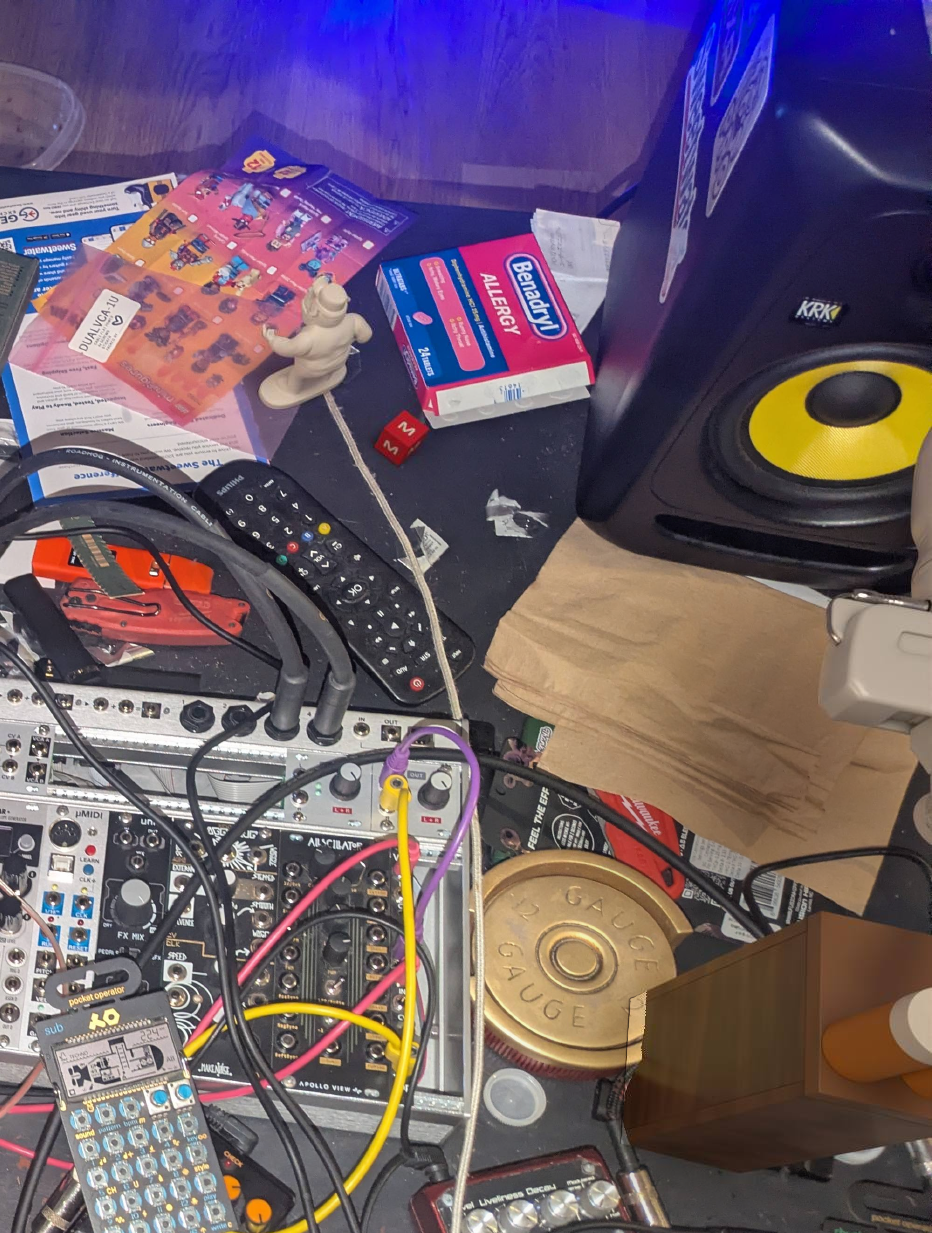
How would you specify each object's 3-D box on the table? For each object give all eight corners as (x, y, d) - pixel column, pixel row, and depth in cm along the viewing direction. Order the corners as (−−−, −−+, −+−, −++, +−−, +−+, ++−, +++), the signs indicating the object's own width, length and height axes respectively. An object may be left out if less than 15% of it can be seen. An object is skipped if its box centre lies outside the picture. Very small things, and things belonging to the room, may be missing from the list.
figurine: (321, 338, 135) (358, 249, 124) (357, 387, 133) (398, 300, 121) (241, 373, 134) (271, 286, 122) (277, 422, 131) (311, 338, 120)
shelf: (954, 949, 87) (971, 943, 86) (958, 1133, 83) (976, 1129, 82) (807, 916, 88) (821, 909, 87) (803, 1096, 84) (818, 1092, 83)
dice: (418, 448, 130) (429, 428, 127) (398, 466, 129) (409, 447, 126) (394, 429, 131) (404, 409, 128) (373, 447, 130) (383, 428, 127)
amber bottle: (891, 1026, 84) (986, 997, 77) (891, 1092, 83) (988, 1069, 75) (820, 1009, 85) (907, 979, 77) (818, 1075, 83) (908, 1050, 76)
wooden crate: (745, 1024, 109) (954, 949, 87) (740, 1173, 105) (958, 1133, 83) (629, 998, 110) (807, 916, 88) (619, 1143, 106) (803, 1096, 84)
